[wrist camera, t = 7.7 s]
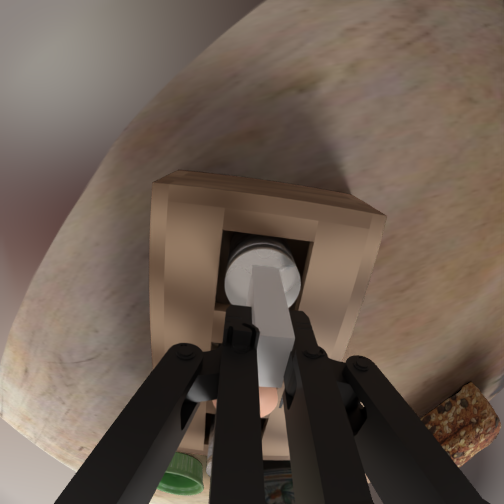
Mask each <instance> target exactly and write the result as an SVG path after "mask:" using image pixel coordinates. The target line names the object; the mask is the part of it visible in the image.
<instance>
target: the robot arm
mask: <svg viewBox="0 0 504 504" xmlns="http://www.w3.org/2000/svg"><path fill="white" fill-rule="evenodd" d="M312 329H313V328H312V325H311V322H310V319H309V317H308V316H307V315H306V314H305V313H304V312H303V311H296V310H289V309H288V305H287V301H286V297H285V292H284V288H283V284H282V280H281V276H280V272H279V268H275V267H266V266H258V265H252V270H251V276H250V283H249V289H248V296H247V302H246V306H241V305H232V304H231V305H230V306H229V307H228V308H227V309H226V314H225V323H224V332H223V341H222V344H221V345H220V347H218V348H217V349H214V350H211V351H205V352H202V350H201V349H200V348H199V347H198V346H196V345H194V344H191V343H178V344H175V345H173V346H172V347H170V348H169V349H168V351H167V352H166V353H165V355H164V356H163V357H162V359H161V360H160V361H159V363H158V364H157V365H156V367H155V368H154V369H153V371H152V372H151V373H150V375H149V376H148V377H147V379H146V380H145V381H144V383H143V384H142V385H141V387H140V388H139V389H138V391H137V392H136V393H135V395H134V396H133V397H132V399H131V400H130V401H129V403H128V404H127V405H126V407H125V408H124V409H123V411H122V412H121V413H120V415H119V416H118V417H117V419H116V420H115V421H114V423H113V424H112V425H111V427H110V428H109V429H108V431H107V432H106V433H105V435H104V436H103V437H102V439H101V440H100V441H99V443H98V444H97V446H96V447H95V448H94V450H93V451H92V452H91V454H90V455H89V456H88V458H87V459H86V460H85V462H84V463H83V464H82V466H81V467H80V469H79V470H78V471H77V473H76V474H75V475H74V477H73V478H72V479H71V481H70V482H69V483H68V485H67V486H66V488H65V489H64V490H63V492H62V493H61V494H60V496H59V497H58V499H57V500H56V501H55V503H54V504H149V502H150V500H151V498H152V496H153V494H154V493H155V491H156V489H157V487H158V485H159V483H160V481H161V479H162V477H163V476H164V474H165V472H166V470H167V468H168V466H169V464H170V462H171V460H172V458H173V456H174V454H175V453H176V451H177V449H178V447H179V445H180V443H181V441H182V439H183V437H184V435H185V433H186V431H187V429H188V427H189V425H190V423H191V421H192V419H193V417H194V415H195V413H196V411H197V409H198V407H199V405H200V402H202V401H210V400H217V402H216V414H215V426H214V438H213V450H212V463H211V477H210V491H209V504H265V488H264V470H263V452H262V434H261V416H260V398H259V386H260V387H275V388H281V387H282V383H283V380H284V385H285V388H284V391H283V394H282V398H281V401H280V404H279V408H282V405H284V413H285V422H286V430H287V438H288V446H289V454H290V463H291V471H292V480H293V488H294V497H295V504H374V503H373V500H372V497H371V494H370V490H369V486H368V483H367V479H366V476H365V474H366V475H367V477H368V479H369V480H370V482H371V484H372V485H373V487H374V489H375V490H376V492H377V493H378V495H379V497H380V498H381V500H382V502H383V503H384V504H490V503H488V502H487V501H485V500H484V499H482V497H481V496H480V495H479V493H478V492H477V491H476V489H475V488H474V487H473V486H472V484H471V483H470V482H469V480H468V479H467V478H466V476H465V475H464V474H463V473H462V471H461V470H460V469H459V467H458V466H457V465H456V464H455V462H454V461H453V460H452V459H451V457H450V456H449V455H448V453H447V452H446V451H445V450H444V448H443V447H442V446H441V445H440V443H439V442H438V441H437V440H436V438H435V437H434V436H433V435H432V433H431V432H430V431H429V430H428V428H427V427H426V426H425V425H424V423H423V422H422V421H421V420H420V418H419V417H418V416H417V415H416V413H415V412H414V411H413V410H412V408H411V407H410V406H409V405H408V404H407V402H406V401H405V400H404V399H403V397H402V396H401V395H400V394H399V393H398V391H397V390H396V389H395V388H394V386H393V385H392V384H391V383H390V382H389V380H388V379H387V378H386V377H385V376H384V374H383V373H382V372H381V371H380V370H379V368H378V367H377V366H376V365H375V364H374V362H372V361H371V360H370V359H368V358H366V357H363V356H359V355H358V356H351V357H349V358H348V359H347V360H346V363H344V362H340V361H336V360H333V359H330V358H328V355H327V353H326V351H325V350H324V349H323V348H321V347H320V346H318V344H317V341H316V338H315V335H314V331H313V330H312ZM360 402H362V403H363V405H364V406H365V407H363V406H362V405H361V403H360Z"/></svg>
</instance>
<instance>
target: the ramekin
mask: <svg viewBox="0 0 504 504" xmlns="http://www.w3.org/2000/svg"><path fill="white" fill-rule="evenodd" d="M157 489H158V490H161V491H163V492H167V493H171V494H176V495H195V494H199V493H201V492H202V491H203V489H204V485H203V476H202V465H201V463H200V462H199V461H198V460H196V459H195V458H193V457H191V456H189V455H187V454H183V453H180V452H176V453H175V454H174V456H173V458H172V460H171V462H170V464H169V466H168V468H167V470H166V472H165V474H164V476H163V477H162V479H161V481H160V483H159V485H158V487H157Z"/></svg>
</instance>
